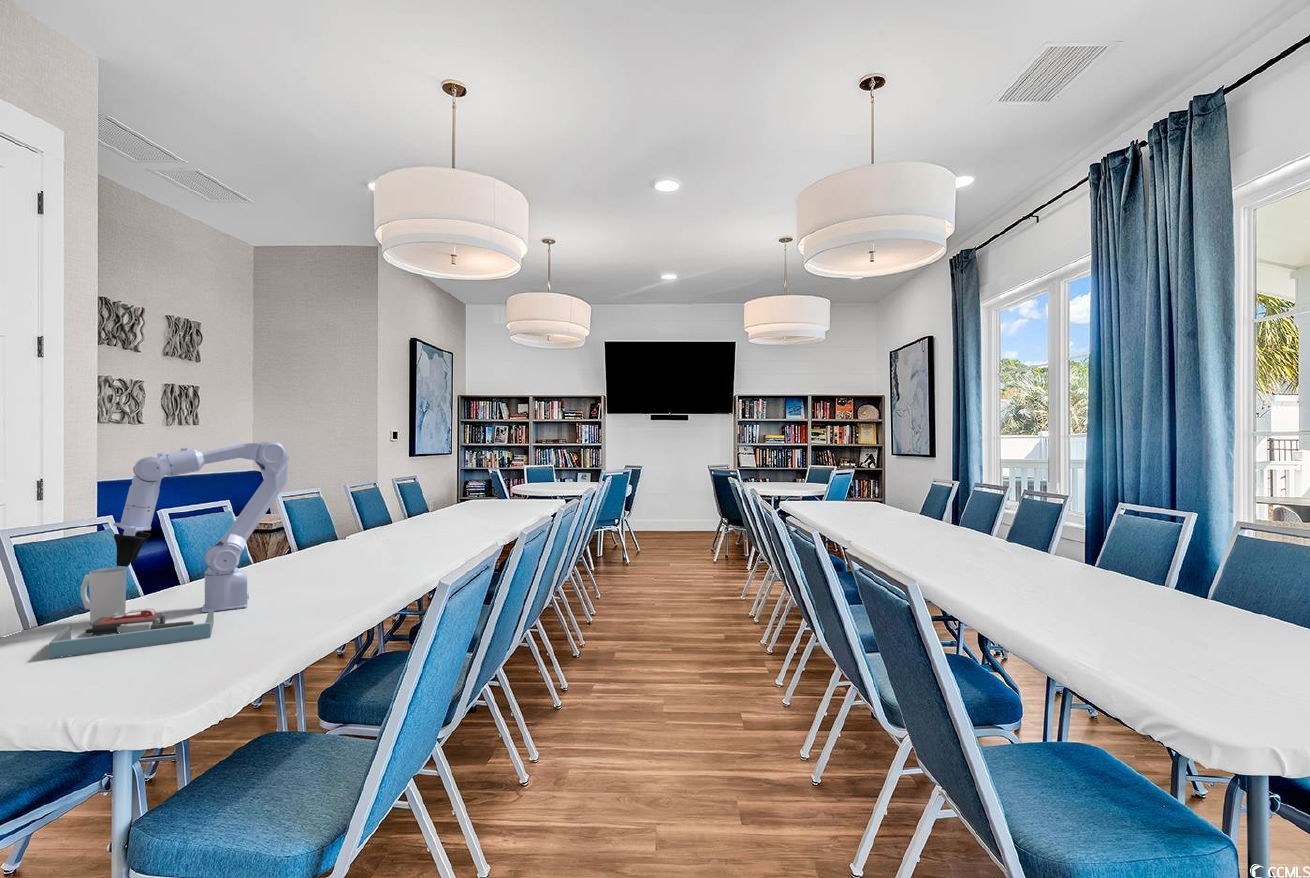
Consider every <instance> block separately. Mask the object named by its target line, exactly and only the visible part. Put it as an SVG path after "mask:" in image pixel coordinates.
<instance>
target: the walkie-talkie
mask: <svg viewBox="0 0 1310 878" xmlns="http://www.w3.org/2000/svg"><path fill="white" fill-rule="evenodd" d="M134 613H137V614H134ZM117 614H119V613H115V614H113V615H112V617H103V618H99V619H98V620H96V621H95V622H93V624H91V627H92V628H87V629H85V634H86V635H87V634H88V635H89V634H92V636H93V635H97V636H103V635H102V634H108V635H112V634H111V633H118V634H120V633H128V632H136V631H145V630H153V629H161V628H169V627H177V626H185V625H194V624H195V622H194V621H192V620H190V621H189V620H188V621H187V620H186V621H180V622H179V621H177V622H168V623H167V622H166V621H167V617H166V615H165V614H164V613H163V612H156V610H155V609H154V608H150V607H149V608H144V609H143V608H139V609H138V608H137V609H131V610H130V611H127V612H125V615H117ZM119 632H120V633H119Z"/></svg>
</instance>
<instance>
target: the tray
mask: <svg viewBox="0 0 1310 878" xmlns="http://www.w3.org/2000/svg"><path fill="white" fill-rule="evenodd" d="M214 613H215V611H208V612H207V615H206V619H205V621H204V622H203V623H196V624H195V623H194V624H193V625H185V626H177V627H169V628H161V629H153V630H145V631H136V632H128V633H118V634H108V635H97V636H88V637H82V638H80V637H79V638H73V639H72V627H71V626H69V627H64V628H63V629H62V630H61V631H60V632H59V633H58V634H57V635H56V636H55V637H54V638H53V639H52V640H51V641H49V643H48V659H49V658H51V659H56V658H55V657H59V658H62V657H61V656H66V657H70V656H69V655H74V656H79V655H81V656H82V655H87V654H95V653H102V652H110V651H111V652H112V651H117V650H118V649H119V650H125V649H126V648H127V649H133V647H134V648H140V647H141V648H142V647H148V646H155V645H157V646H158V645H163V644H171V643H178V642H186V641H192V640H193V641H194V640H201V639H207V638H208V639H209V638H212V637H211V636H212V633H213V629H212V628H214V625H215V624H214V616H215V615H214ZM127 649H126V650H127Z"/></svg>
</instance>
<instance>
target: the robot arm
mask: <svg viewBox="0 0 1310 878" xmlns="http://www.w3.org/2000/svg"><path fill="white" fill-rule="evenodd" d="M235 459H244V460H249V461H254V462H255V463H256V465H257V466H258V467H259V468H260V471H261V474H262V476H263V480H262V482H261V484H260V485H259V486H258V488H257V489H256V491H255V492H254V494H253V495H252V496H251V498H250V499H249V501H248V502H247V503H246V504H245V506H244V507H243V509H242V510H241V511H240V513H239V514H238V516H237V517H236V519H235V520H234V522H233V523H232V525H231V526H230V527H229V529H228V531H226V532H225V534H223V536H221V537H220V538H219V540H218V541H217V542H216V543H215V544H213V545H211V546H209V548H208V549H206V551H205V553H204V557H203V559H204V562H205V564H206V565H207V566H208V568H207V569H206V570H205V571H204V604H203V605H202V609H201V613H208V611H214V612H217V611H225V610H226V611H227V610H236V609H242V608H248V600H250V592H249V591H248V570H239V568H240V567H239V568H238V565H239V564H240V559H241V555H242V553H243V552H244V550H245V547H246V543H247V541H248V540H249V538H250V536H251V535H252V533H253V532H254V531H255V530H256V528H257V526H259V523H260V522H261V520H262V519H263V518H264V516H265V515H266V513H267V512H268V510H269V509H270V508H271V506H272V504H274V502H275V501H276V499H277V498H278V496H279V494H280V493H281V491H282V490H283V488H284V487H285V485H287V483H288V466H289V465H288V462H289V460H290V459H289V456H288V452H287V450H286V448H285V446H283V445H282V444H281V443H280V442H277V441H261V442H246V443H245V442H244V443H239V444H233V445H230V446H224V447H219V448H215V449H210V450H207V451H206V450H205V451H202V452H201V451H199V450H197V449H195V448H188V447H181V448H180V450H178V451H174V452H167V453H163V452H157V455H156V456H153V455H152V456H151V455H150V456H145V457H142V458H140V459H139V460H138V461H136V462H135V464H134V465H133V467H132V470H133V474H134V476H133V478H132V480H131V485H130V486H129V489H128V493H127V496H126V501H125V505H124V507H123V512H122V515H121V519H120V522H114V523H113V525H112V526H113V527H118V528H120V529H122V530H124V531H121V532H120V534H119V533H115V534H114V535H113V539H114V542H115V545H116V567H123V568H127V567H129V566H130V565H131V564H132V563H135V561H136V559H137V557H138V555H139V553H140V551H141V548H142V547H143V545H144V544H145V542H146V541H147V540H148V538H149V537H151V533H150V532H144V531H151V530H152V526H151V525H152V522H153V518H154V514H155V512H156V511H155V510H156V506H157V503H158V498H159V495H160V487H161V482H162V479H163V478H165V476H166V477H169V478H170V477H176V476H180V475H185V474H190V473H194V472H195V473H196V472H199V471H200V470H201V469H202V468H203V467H204V466H205V465H208V464H213V463H218V462H224V461H229V460H235Z"/></svg>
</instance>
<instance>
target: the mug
mask: <svg viewBox="0 0 1310 878" xmlns="http://www.w3.org/2000/svg"><path fill="white" fill-rule="evenodd" d="M88 573H89V574H85V575H84V577H83V581H82V583H81V586H80V597H81V600H82V604H83V606H84V609H85V610H89V618H90V619H89V620H90V625H92V624H93V622H95V621H96V620H98V619H99V618H103V617H112V615H113V614H115V613H119V614H117V615H125V614H126V609H127V607H126V606H127V605H126V603H127V600H126V599H127V567H109V568H100V569H94V570H91V571H89V572H88ZM88 587H89V596H88V593H87V589H88Z"/></svg>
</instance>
